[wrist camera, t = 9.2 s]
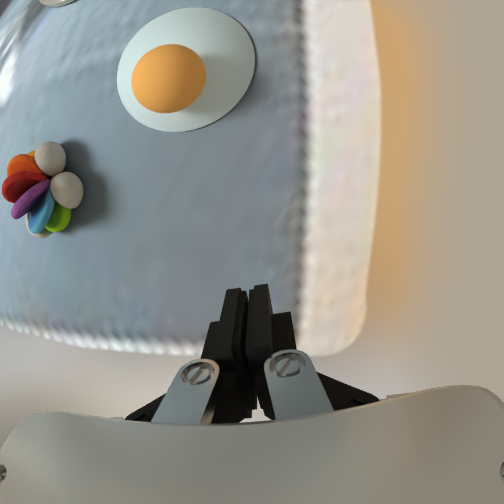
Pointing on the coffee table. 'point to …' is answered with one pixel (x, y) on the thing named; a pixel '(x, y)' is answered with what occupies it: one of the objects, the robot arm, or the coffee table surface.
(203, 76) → the ball
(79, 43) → the coffee table surface
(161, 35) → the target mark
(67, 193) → the multicolored petal flower toy
